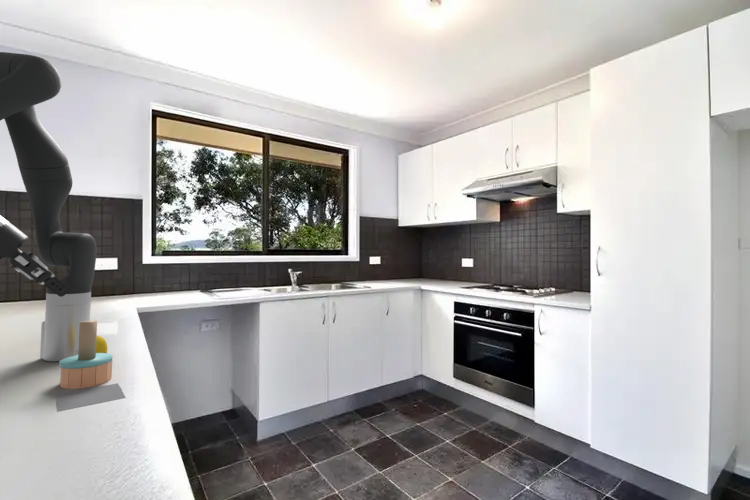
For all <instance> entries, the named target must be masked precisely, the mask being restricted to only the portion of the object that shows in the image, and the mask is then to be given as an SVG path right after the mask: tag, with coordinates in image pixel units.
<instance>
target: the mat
mask: <svg viewBox="0 0 750 500" xmlns="http://www.w3.org/2000/svg"><path fill="white" fill-rule="evenodd" d="M55 399H56V400H55V401H56V411H57V412H58V413H59V412H64V411H68V410H73V409H78V408H81V407H82V408H83V407H87V406H92V405H97V404H103V403H107V402H111V401H117V400H121V399H126V396H125V393H124V392H123V389H122V388H121V386H120V384H119V383H112V384H107V385H106V384H105V385H100V386H93V387H88V388H85V389H84V388H82V389H78V390H77V389H76V390H72V391H67V392H60V393H56V394H55Z"/></svg>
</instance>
